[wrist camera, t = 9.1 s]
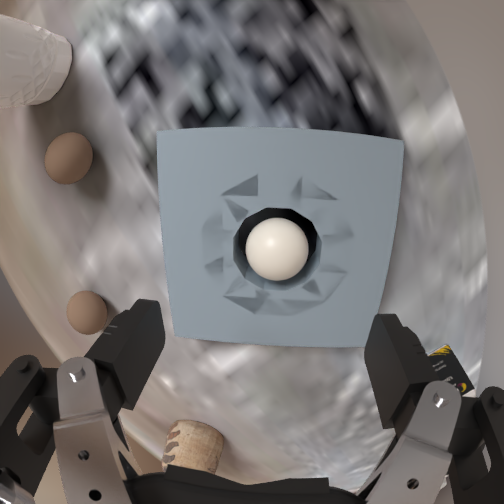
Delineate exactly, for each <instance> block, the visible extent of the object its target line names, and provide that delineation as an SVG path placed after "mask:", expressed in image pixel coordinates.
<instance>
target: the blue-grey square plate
mask: <svg viewBox="0 0 504 504" xmlns="http://www.w3.org/2000/svg"><path fill="white" fill-rule="evenodd" d="M403 155H404V141H402V140H396V139H390V138H384V137H377V136H370V135H363V134H355V133H347V132H337V131H327V130H315V129H300V128H280V127H212V128H191V129H176V130H164V131H157V164H158V188H159V205H160V219H161V231H162V242H163V252H164V261H165V270H166V278H167V286H168V294H169V301H170V308H171V314H172V321H173V327H174V333H175V336H177V337H185V338H193V339H202V340H211V341H221V342H231V343H243V344H257V345H273V346H294V347H365V346H366V342H367V339H368V336H369V332H370V329H371V326H372V322H373V319H374V316H375V315H376V314H378V310H379V306H380V302H381V298H382V294H383V290H384V285H385V281H386V276H387V271H388V267H389V262H390V257H391V251H392V246H393V240H394V234H395V228H396V221H397V214H398V207H399V199H400V190H401V180H402V169H403ZM266 207H269V208H291V209H293V210H295V211H296V212H298V213H299V214H301V215H302V216H304V217H306V218H307V219H309V220H310V221H312V223H313V225H314V227H315V229H316V231H317V242H316V250H315V252H314V253H313V255H312V256H311V257H310V259H309V260H308V261H307V263H306V264H305V266H303V268H302V269H301V270H300V271H299V272H298V273H297V274H296V275H294V276H293V277H291V278H289V279H285V280H280V281H274V280H269V279H266V278H263V277H261V276H260V275H258V274H257V273H256V272H255V271H254V270H253V269H252V267H251V266H250V264H249V263H248V261H247V259H246V258H245V256H244V254H243V253H242V251H241V249H240V248H239V227H240V226H241V224H242V223H243V221H244V219H245V218H247V217H249V216H251V215H253V214H255V213H257V212H259V211H261V210H262V209H264V208H266Z"/></svg>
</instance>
